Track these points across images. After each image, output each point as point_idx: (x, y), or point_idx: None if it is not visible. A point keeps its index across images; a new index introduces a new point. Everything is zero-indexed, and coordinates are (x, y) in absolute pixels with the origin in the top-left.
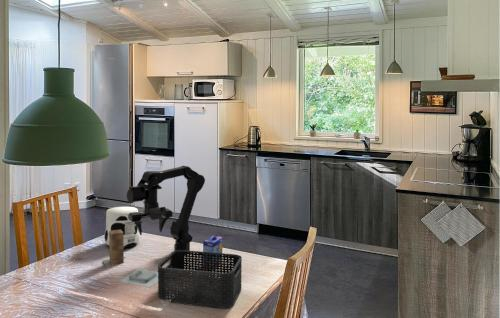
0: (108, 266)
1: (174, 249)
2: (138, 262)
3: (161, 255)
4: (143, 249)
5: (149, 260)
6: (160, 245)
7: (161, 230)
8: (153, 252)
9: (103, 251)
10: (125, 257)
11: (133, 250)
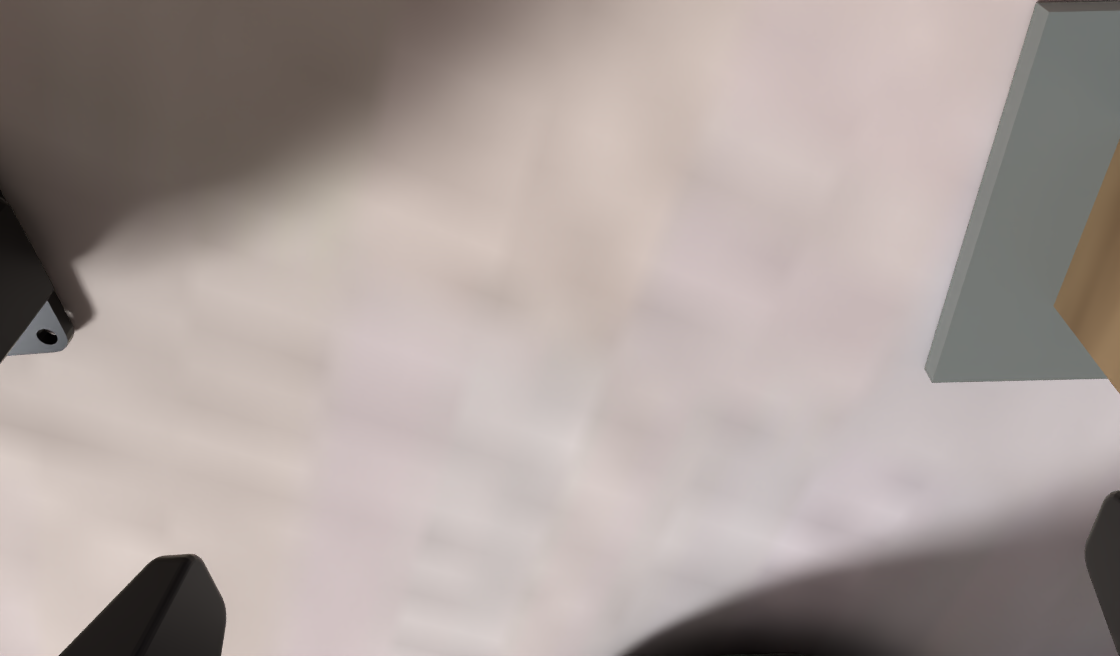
0: None
1: (28, 314)
2: (827, 100)
3: (322, 268)
4: (545, 561)
5: (599, 117)
6: (279, 607)
7: (117, 616)
8: (432, 427)
9: (1032, 641)
10: (944, 357)
11: (686, 569)
